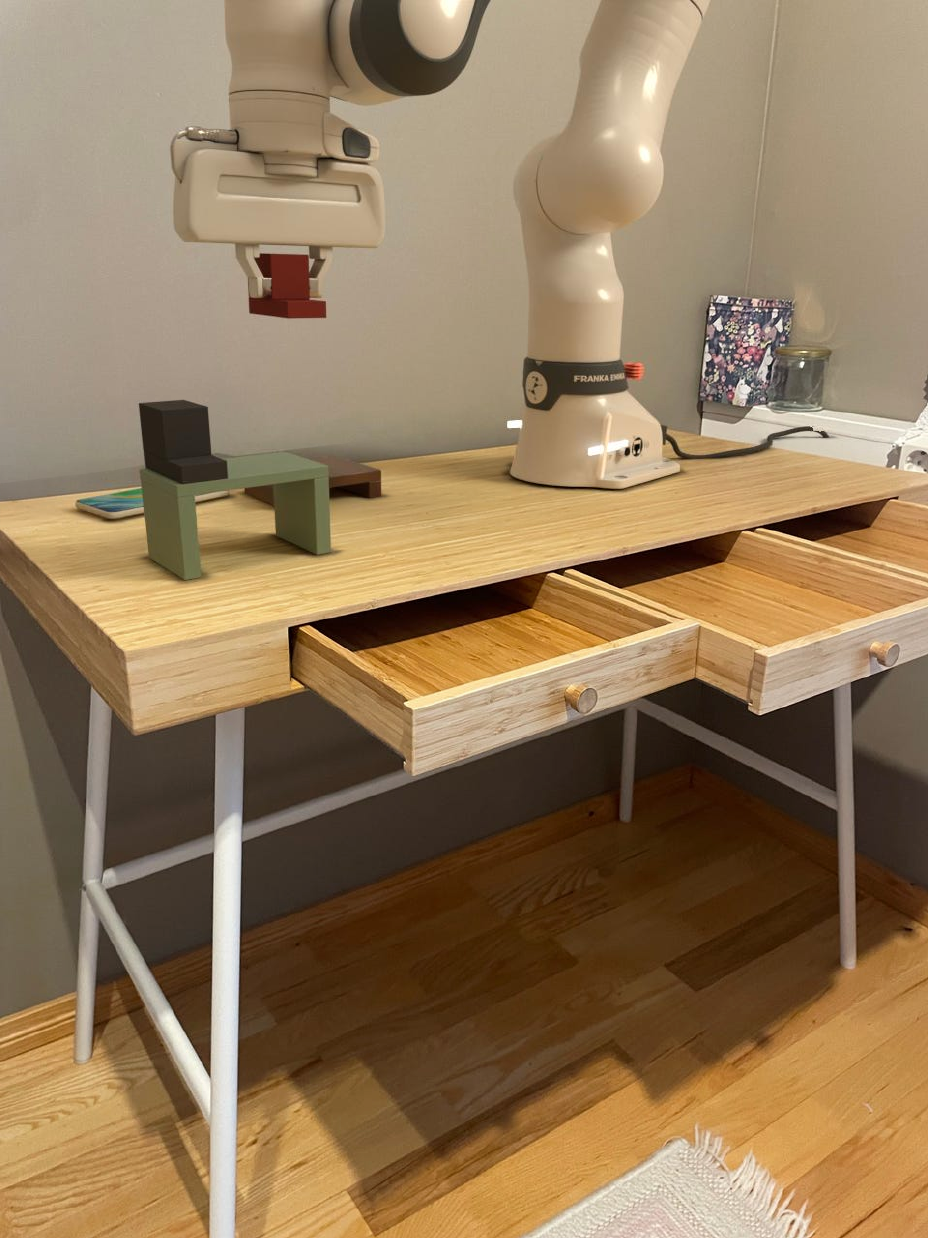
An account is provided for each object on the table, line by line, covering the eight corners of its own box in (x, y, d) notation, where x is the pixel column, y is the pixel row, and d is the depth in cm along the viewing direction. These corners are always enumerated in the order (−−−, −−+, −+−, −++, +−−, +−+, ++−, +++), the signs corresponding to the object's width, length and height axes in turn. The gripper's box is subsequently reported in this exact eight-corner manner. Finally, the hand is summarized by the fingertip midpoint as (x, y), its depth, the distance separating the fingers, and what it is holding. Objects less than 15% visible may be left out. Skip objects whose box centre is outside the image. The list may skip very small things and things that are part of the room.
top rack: (289, 533, 94) (285, 451, 91) (331, 552, 88) (328, 465, 85) (148, 557, 86) (139, 468, 83) (184, 580, 80) (176, 485, 77)
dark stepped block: (189, 462, 86) (183, 399, 84) (228, 478, 80) (223, 411, 78) (144, 467, 83) (138, 402, 82) (182, 484, 78) (175, 415, 76)
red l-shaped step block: (286, 312, 96) (284, 253, 94) (326, 317, 90) (325, 254, 88) (249, 313, 94) (246, 252, 92) (288, 318, 88) (285, 253, 86)
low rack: (335, 480, 117) (335, 455, 116) (381, 496, 109) (381, 469, 108) (244, 493, 110) (242, 466, 109) (286, 510, 102) (285, 482, 101)
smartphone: (231, 488, 108) (110, 513, 97) (232, 496, 108) (111, 521, 97) (192, 477, 112) (71, 500, 101) (192, 485, 112) (72, 508, 101)
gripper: (183, 119, 78) (195, 299, 83) (394, 142, 90) (394, 299, 95) (154, 126, 83) (167, 296, 88) (358, 147, 95) (360, 296, 100)
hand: (287, 297), depth 91 cm, fingers closed on red l-shaped step block, 4 cm apart
